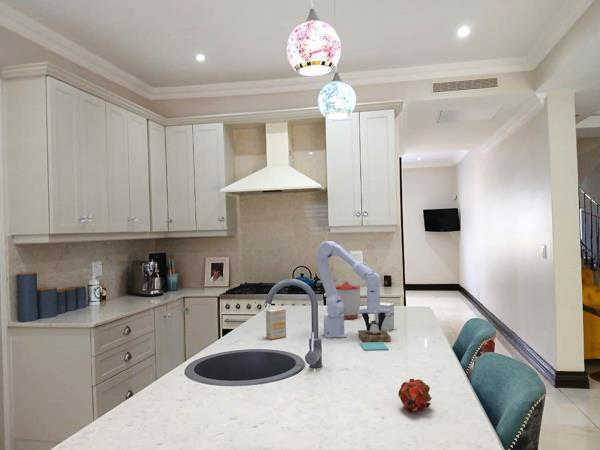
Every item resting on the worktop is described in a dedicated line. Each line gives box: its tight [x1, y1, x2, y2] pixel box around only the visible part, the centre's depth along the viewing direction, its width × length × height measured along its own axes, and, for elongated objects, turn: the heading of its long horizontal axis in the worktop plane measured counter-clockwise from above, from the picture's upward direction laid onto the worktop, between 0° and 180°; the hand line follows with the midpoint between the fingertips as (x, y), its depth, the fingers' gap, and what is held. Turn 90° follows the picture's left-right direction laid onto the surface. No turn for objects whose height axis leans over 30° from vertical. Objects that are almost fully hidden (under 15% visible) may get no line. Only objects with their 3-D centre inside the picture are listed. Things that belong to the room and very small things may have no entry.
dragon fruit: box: [397, 378, 432, 413], centre depth 119 cm, size 8×8×12 cm
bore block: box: [357, 329, 392, 343], centre depth 193 cm, size 12×12×2 cm
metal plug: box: [368, 320, 379, 335], centre depth 193 cm, size 5×5×8 cm
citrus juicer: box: [335, 281, 361, 320], centre depth 239 cm, size 16×17×20 cm
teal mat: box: [359, 342, 389, 352], centre depth 180 cm, size 10×10×1 cm
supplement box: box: [265, 307, 287, 341], centre depth 197 cm, size 8×5×13 cm, turn 124°
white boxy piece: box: [374, 301, 395, 333], centre depth 211 cm, size 7×7×13 cm
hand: (373, 330), depth 193 cm, fingers closed on metal plug, 5 cm apart
